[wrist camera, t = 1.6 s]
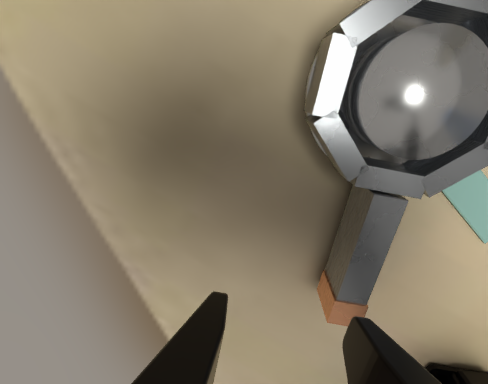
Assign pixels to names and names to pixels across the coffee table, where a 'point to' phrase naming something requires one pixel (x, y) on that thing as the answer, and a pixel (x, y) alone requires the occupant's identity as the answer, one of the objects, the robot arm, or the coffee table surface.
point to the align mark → (472, 202)
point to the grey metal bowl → (413, 90)
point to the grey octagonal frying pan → (373, 170)
